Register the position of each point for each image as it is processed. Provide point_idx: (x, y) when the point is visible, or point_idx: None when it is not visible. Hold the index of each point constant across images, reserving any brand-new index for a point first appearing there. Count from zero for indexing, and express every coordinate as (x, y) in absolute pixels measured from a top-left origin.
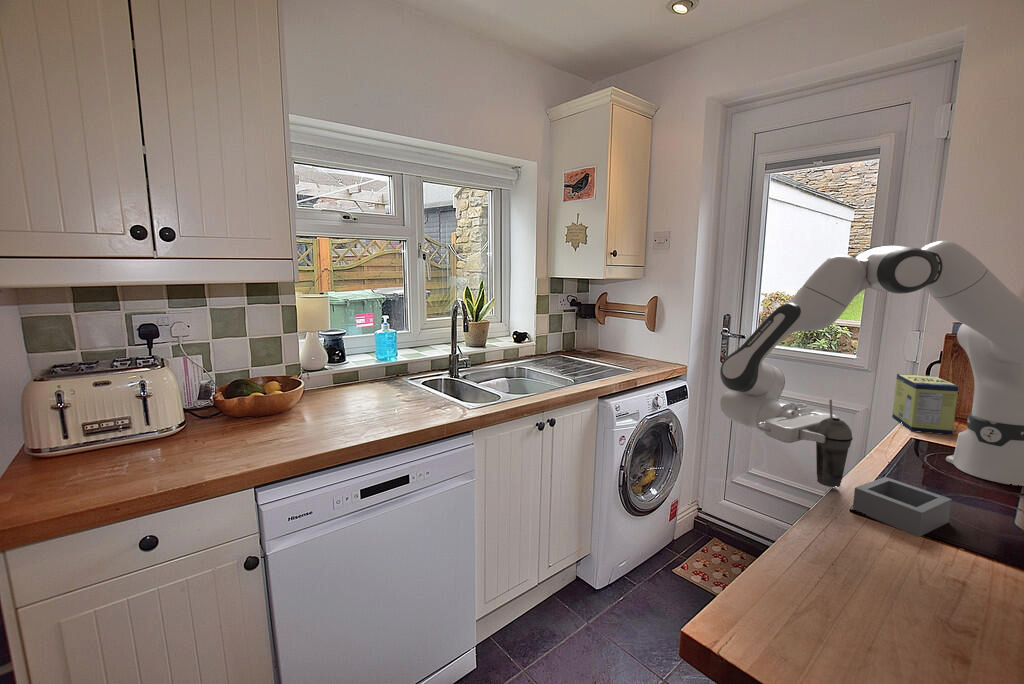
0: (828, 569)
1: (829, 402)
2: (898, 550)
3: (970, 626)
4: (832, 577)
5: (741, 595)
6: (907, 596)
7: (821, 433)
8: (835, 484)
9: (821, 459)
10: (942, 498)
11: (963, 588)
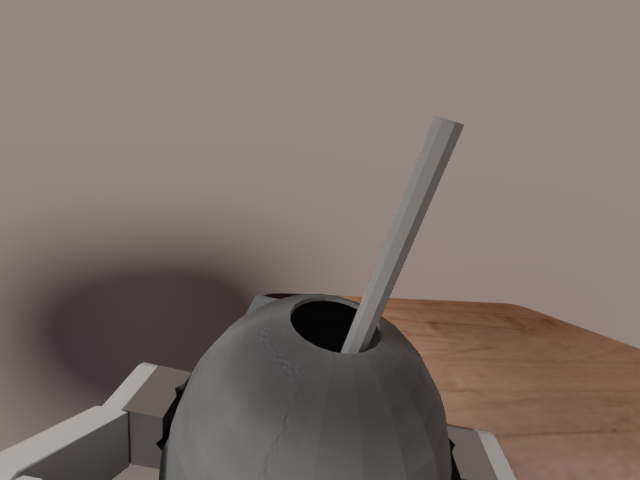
0: (632, 429)
1: (447, 162)
2: (445, 374)
3: (499, 318)
4: (634, 418)
5: None
6: (532, 353)
7: (463, 460)
8: None
9: None
10: (266, 302)
11: (442, 322)
